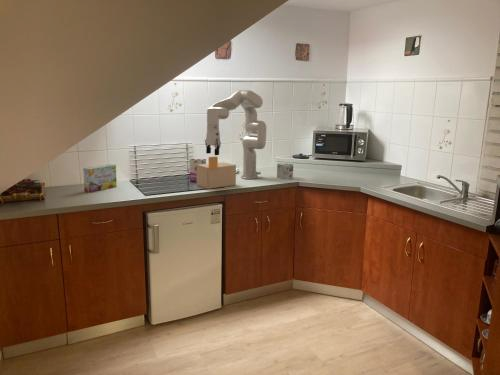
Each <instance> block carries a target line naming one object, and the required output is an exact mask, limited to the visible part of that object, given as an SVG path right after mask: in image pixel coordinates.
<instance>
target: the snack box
mask: <svg viewBox="0 0 500 375" xmlns="http://www.w3.org/2000/svg"><path fill="white" fill-rule="evenodd" d="M82 173H83V185H84V188H83V190H84V192H86V193H93V192H94V193H95V192H98V191H103V190H104V191H105V190H108V189H113V188H114V189H115V188H117V165H116V164H112V163H109V164H108V163H107V164H103V165H102V164H101V165H97V166H96V165H95V166H90V167H89V166H88V167H84V168H83V172H82Z"/></svg>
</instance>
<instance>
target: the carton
mask: <svg viewBox="0 0 500 375" xmlns="http://www.w3.org/2000/svg"><path fill="white" fill-rule="evenodd" d="M231 165H234V164H233V163H229V162H225V161H221V162H218V167H221V166H231ZM208 168H209V163H206V164H200V165H197V182H196V186H198V187H201V188H204V189H207V190H210V189H212V188H210V189H208ZM231 186H233V185H231ZM231 186H230V187H231ZM225 187H226V186H224V187H223V188H225ZM218 188H219V187H217V188H216V189H218Z"/></svg>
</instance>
